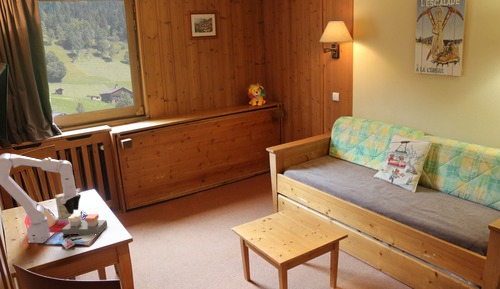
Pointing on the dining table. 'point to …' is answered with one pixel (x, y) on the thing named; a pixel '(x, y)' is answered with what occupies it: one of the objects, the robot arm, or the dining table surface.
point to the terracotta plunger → (92, 220)
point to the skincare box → (61, 207)
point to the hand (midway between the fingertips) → (73, 211)
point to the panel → (85, 228)
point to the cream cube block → (75, 220)
